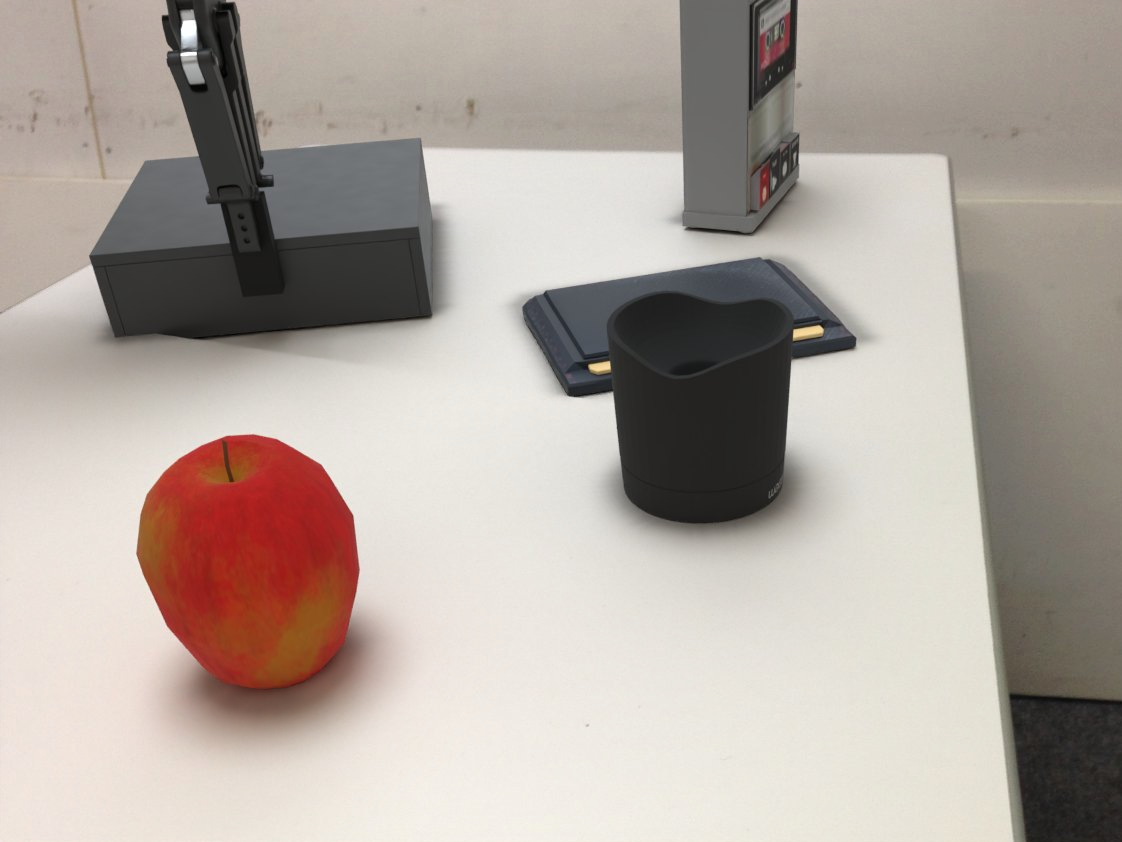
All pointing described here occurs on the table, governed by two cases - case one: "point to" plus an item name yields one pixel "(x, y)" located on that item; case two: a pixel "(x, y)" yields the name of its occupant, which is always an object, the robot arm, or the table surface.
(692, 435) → the pen holder
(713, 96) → the cassette tape recorder
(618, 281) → the wallet
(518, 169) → the table surface
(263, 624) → the apple
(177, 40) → the robot arm
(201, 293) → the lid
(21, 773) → the table surface
